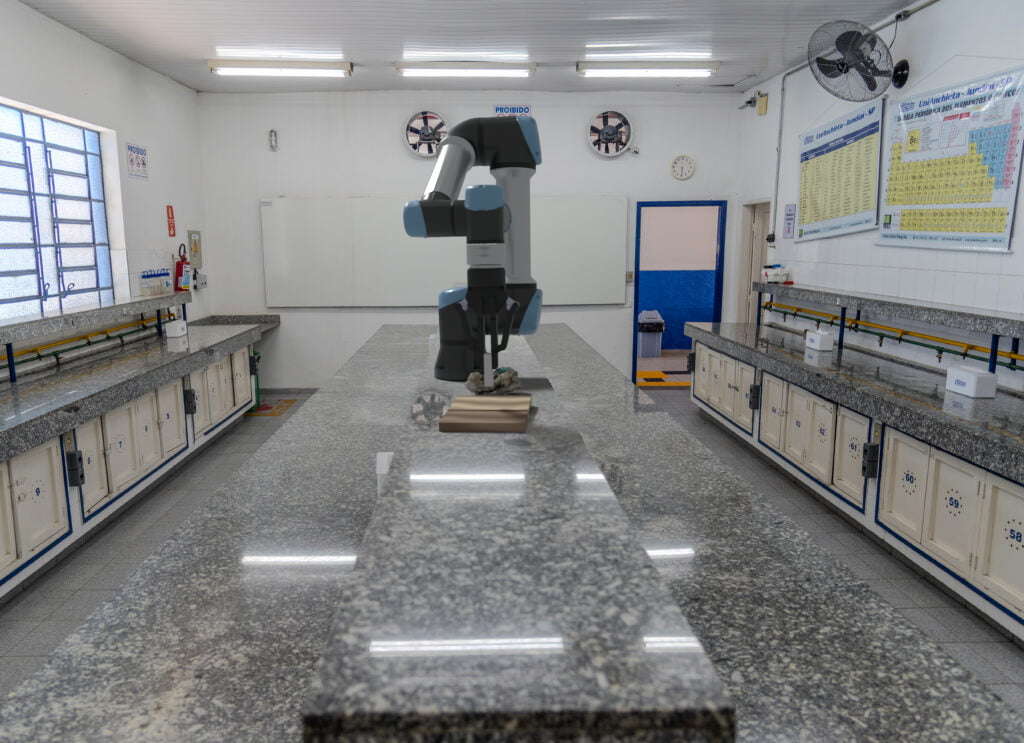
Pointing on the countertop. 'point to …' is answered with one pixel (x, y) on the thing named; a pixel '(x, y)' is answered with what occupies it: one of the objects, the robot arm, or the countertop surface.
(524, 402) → the board
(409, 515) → the countertop surface
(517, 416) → the floor board
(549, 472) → the countertop surface
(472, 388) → the mineral specimen
